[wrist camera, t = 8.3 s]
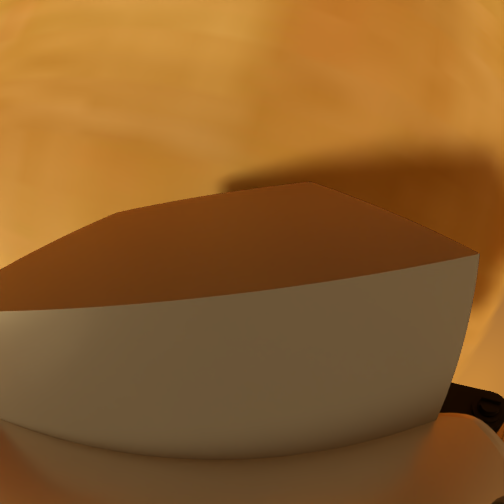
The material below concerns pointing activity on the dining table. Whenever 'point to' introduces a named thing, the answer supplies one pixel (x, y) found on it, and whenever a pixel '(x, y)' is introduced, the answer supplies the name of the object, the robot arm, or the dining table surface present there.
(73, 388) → the grey rectangular box
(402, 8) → the dining table surface
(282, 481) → the robot arm
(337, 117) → the dining table surface
